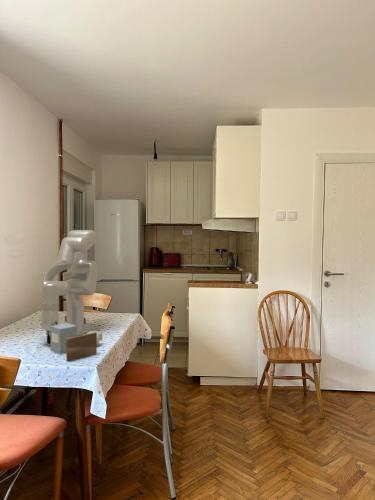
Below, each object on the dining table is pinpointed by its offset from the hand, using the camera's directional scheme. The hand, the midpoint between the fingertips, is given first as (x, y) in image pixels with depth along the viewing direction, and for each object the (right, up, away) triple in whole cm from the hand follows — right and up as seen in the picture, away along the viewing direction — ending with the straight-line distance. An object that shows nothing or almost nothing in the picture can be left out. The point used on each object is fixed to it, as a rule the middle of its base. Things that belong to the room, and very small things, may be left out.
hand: (50, 342), depth 187 cm
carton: (-4, -1, +53) cm, 53 cm away
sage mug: (+23, -1, 0) cm, 23 cm away
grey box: (+10, -2, -9) cm, 13 cm away
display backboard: (+22, -2, -19) cm, 29 cm away
